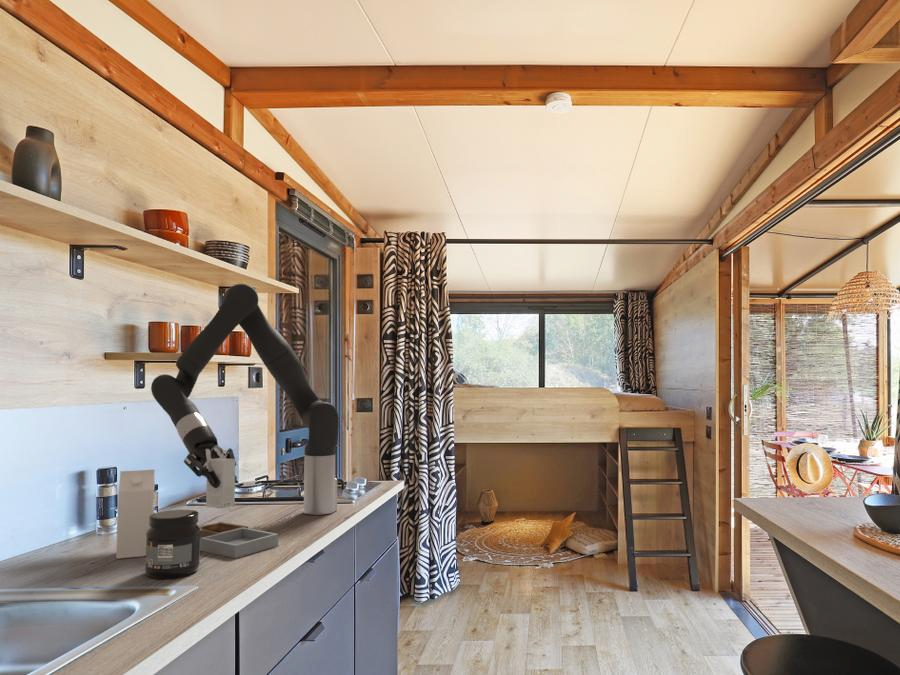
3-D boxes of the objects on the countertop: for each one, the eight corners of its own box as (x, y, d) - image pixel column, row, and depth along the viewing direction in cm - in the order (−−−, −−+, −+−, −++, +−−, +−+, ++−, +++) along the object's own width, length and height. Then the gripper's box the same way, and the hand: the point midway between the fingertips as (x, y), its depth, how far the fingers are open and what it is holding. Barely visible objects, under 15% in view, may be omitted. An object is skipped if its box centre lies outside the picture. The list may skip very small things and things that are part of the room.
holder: (220, 531, 167) (220, 521, 167) (248, 536, 161) (248, 526, 161) (190, 538, 159) (190, 528, 159) (218, 544, 153) (218, 534, 153)
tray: (243, 538, 159) (243, 527, 159) (278, 545, 152) (278, 533, 152) (199, 550, 148) (199, 538, 148) (235, 558, 141) (235, 545, 141)
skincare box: (235, 506, 161) (236, 458, 162) (221, 509, 157) (223, 460, 158) (218, 504, 164) (219, 457, 165) (205, 506, 160) (206, 459, 161)
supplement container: (188, 562, 139) (190, 506, 139) (207, 572, 131) (209, 514, 132) (137, 572, 131) (139, 513, 132) (154, 583, 124) (156, 521, 124)
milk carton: (118, 551, 147) (121, 469, 148) (152, 548, 150) (154, 467, 151) (116, 559, 140) (119, 473, 142) (151, 556, 143) (153, 471, 144)
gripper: (178, 426, 160) (208, 478, 153) (225, 422, 172) (255, 470, 165) (165, 446, 162) (194, 498, 155) (212, 441, 174) (241, 489, 167)
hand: (225, 484), depth 160 cm, fingers closed on skincare box, 4 cm apart
